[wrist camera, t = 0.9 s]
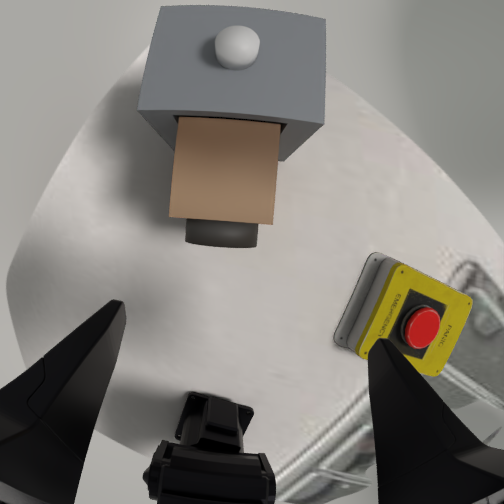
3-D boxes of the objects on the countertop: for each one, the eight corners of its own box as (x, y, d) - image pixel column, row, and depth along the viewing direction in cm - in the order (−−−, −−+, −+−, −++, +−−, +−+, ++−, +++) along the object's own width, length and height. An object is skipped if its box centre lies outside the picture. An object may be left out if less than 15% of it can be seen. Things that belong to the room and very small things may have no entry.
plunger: (254, 238, 25) (269, 255, 15) (192, 233, 25) (166, 247, 15) (261, 158, 24) (280, 124, 14) (198, 153, 24) (179, 116, 14)
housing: (283, 161, 25) (332, 116, 12) (176, 153, 24) (129, 102, 12) (288, 90, 24) (331, 7, 11) (186, 82, 23) (156, -6, 11)
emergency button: (392, 254, 22) (493, 306, 24) (369, 247, 27) (468, 296, 28) (343, 360, 23) (455, 387, 25) (328, 340, 28) (434, 370, 29)
